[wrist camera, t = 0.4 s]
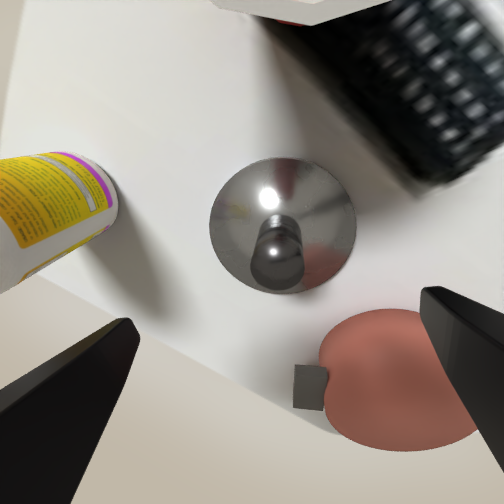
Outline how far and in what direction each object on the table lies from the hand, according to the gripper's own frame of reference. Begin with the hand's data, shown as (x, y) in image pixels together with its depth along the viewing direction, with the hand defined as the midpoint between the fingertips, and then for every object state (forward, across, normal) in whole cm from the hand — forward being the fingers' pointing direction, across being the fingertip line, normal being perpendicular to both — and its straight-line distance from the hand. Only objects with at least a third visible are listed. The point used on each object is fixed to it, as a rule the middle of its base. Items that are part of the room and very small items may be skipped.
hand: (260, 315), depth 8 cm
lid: (+13, 0, +2) cm, 13 cm away
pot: (+13, -7, +17) cm, 22 cm away
